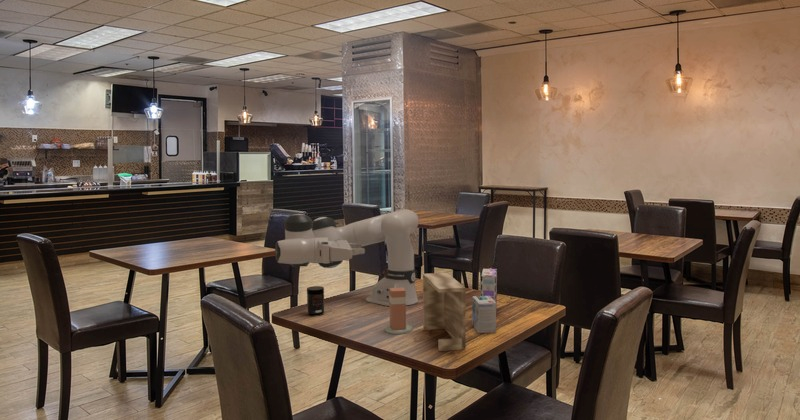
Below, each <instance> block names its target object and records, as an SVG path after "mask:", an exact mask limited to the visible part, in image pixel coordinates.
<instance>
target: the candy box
mask: <svg viewBox="0 0 800 420" xmlns="http://www.w3.org/2000/svg"><path fill="white" fill-rule="evenodd" d="M497 272H498V271H497V268H482V271H481V274H480V296H490V297H491V298H492V299H493V300H494V301H495V302H496V310H497V309H498V308H497V306H498V305H497V303H498V302H497V301H498V300H497V298H498V295H497V294H498V292H497V291H498V289H497V285H498V284H497V281H498V280H497V279H498V275H497V274H498V273H497Z"/></svg>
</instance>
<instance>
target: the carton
mask: <svg viewBox="0 0 800 420" xmlns="http://www.w3.org/2000/svg"><path fill="white" fill-rule="evenodd" d="M389 301H390V306H389V324H390V327H391V329H392V330H403V329H406V324H407V310H406V309H407V305H406V291H405V289H404V288H403V287H401V288H389Z"/></svg>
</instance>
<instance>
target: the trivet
mask: <svg viewBox="0 0 800 420" xmlns="http://www.w3.org/2000/svg"><path fill="white" fill-rule="evenodd" d="M412 330H413V328H412V325H410V324H407V323H406V329H403V330H392V329H391V327H390V323H389V324H387V325H385V326H384V327H383V331H384V333H387V334H391V335H404V334H408V333H411V332H412Z"/></svg>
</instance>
